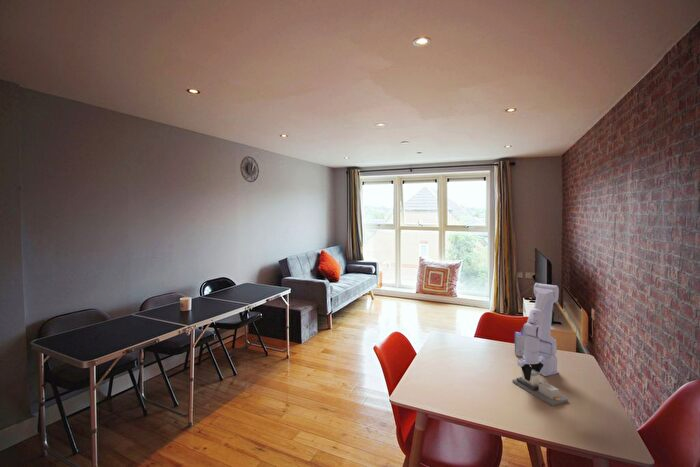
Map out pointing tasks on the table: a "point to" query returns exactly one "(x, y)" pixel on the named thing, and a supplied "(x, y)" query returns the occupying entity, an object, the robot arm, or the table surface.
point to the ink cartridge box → (519, 343)
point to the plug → (533, 378)
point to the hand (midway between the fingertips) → (531, 378)
